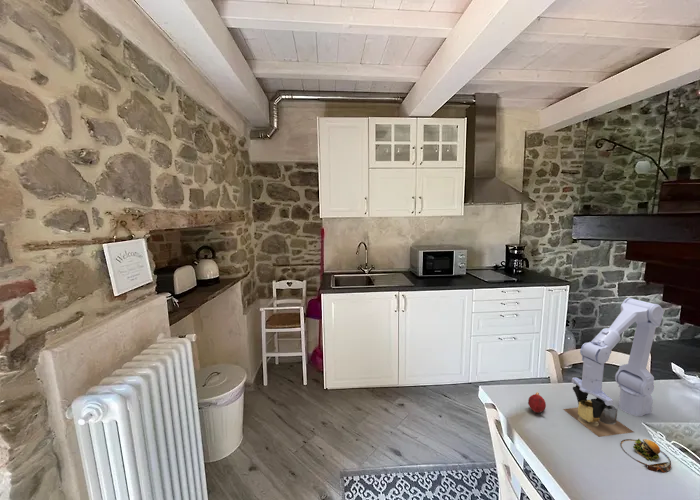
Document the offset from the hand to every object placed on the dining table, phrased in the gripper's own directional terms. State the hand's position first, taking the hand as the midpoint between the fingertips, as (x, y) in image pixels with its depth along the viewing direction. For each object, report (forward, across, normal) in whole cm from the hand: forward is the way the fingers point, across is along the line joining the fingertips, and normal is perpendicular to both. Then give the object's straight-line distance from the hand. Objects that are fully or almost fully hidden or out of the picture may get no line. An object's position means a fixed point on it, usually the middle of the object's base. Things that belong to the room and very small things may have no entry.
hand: (589, 411), depth 114 cm
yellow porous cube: (+2, 0, 0) cm, 2 cm away
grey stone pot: (+3, 0, +7) cm, 8 cm away
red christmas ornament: (+5, -9, -14) cm, 17 cm away
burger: (+5, +16, +4) cm, 17 cm away
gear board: (+5, 0, +4) cm, 6 cm away
